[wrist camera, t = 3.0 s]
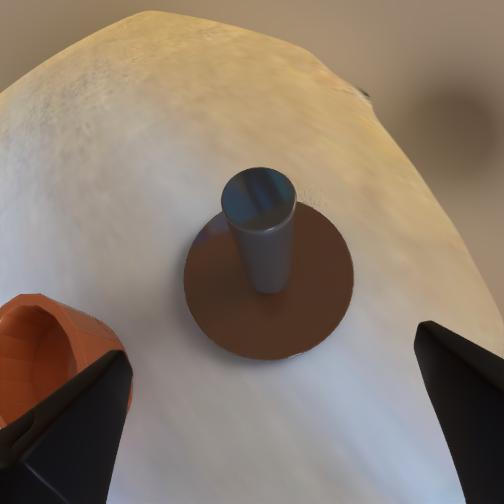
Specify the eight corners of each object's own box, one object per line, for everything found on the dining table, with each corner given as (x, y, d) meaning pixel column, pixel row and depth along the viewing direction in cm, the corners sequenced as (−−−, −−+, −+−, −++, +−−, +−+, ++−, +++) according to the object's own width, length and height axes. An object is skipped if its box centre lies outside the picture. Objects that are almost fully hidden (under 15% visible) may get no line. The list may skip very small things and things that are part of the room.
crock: (82, 466, 18) (35, 481, 12) (15, 369, 21) (-32, 361, 15) (160, 383, 20) (120, 384, 15) (78, 287, 23) (33, 262, 18)
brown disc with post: (279, 395, 19) (277, 418, 9) (157, 287, 23) (77, 222, 13) (380, 265, 22) (442, 184, 12) (259, 180, 25) (245, 74, 15)
